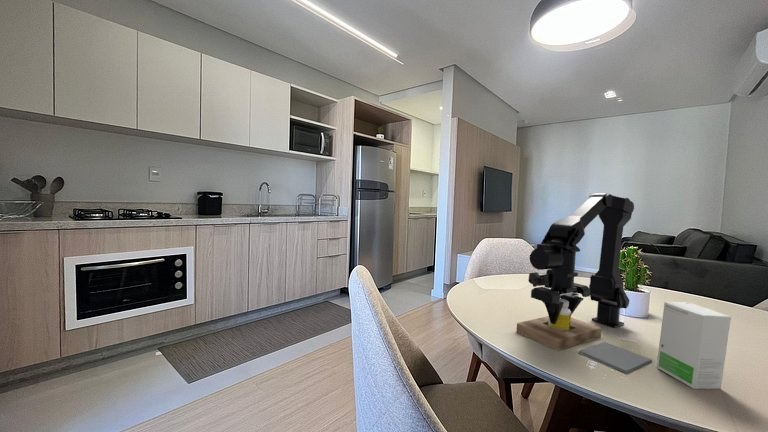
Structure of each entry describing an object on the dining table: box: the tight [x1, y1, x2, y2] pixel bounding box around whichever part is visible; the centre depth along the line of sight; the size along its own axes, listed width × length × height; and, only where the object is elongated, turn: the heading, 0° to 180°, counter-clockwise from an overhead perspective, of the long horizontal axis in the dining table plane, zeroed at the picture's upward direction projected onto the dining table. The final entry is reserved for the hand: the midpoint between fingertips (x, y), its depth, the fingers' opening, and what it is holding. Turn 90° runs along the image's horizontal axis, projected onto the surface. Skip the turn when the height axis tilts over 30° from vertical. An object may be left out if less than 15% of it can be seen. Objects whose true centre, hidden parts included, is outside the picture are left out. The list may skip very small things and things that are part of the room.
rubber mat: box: [578, 341, 653, 374], centre depth 74 cm, size 12×10×1 cm
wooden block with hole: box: [516, 315, 602, 351], centre depth 86 cm, size 20×12×2 cm, turn 118°
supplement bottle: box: [548, 298, 572, 332], centre depth 86 cm, size 5×5×10 cm
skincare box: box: [656, 301, 732, 390], centre depth 65 cm, size 8×7×16 cm
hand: (559, 322), depth 86 cm, fingers closed on supplement bottle, 5 cm apart
